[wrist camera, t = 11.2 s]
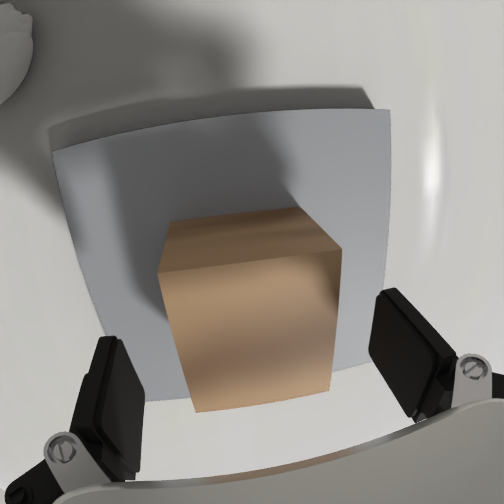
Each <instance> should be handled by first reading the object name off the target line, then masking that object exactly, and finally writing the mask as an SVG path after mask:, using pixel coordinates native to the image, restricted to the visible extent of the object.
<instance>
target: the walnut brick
mask: <svg viewBox="0 0 504 504" xmlns="http://www.w3.org/2000/svg"><path fill="white" fill-rule="evenodd" d="M341 265H342V248H341V247H340V246H339V245H338V244H337V243H336V242H335V241H334V240H333V239H332V238H331V237H330V236H329V235H328V234H327V233H326V232H325V231H324V230H323V229H322V228H321V227H320V226H319V225H318V224H317V223H316V222H315V221H314V220H313V219H312V218H311V217H310V216H309V215H308V214H307V213H306V212H305V211H304V210H303V209H302V208H301V207H290V208H280V209H271V210H262V211H253V212H244V213H236V214H227V215H219V216H211V217H203V218H195V219H188V220H180V221H173V222H170V225H169V229H168V232H167V236H166V240H165V244H164V248H163V252H162V256H161V260H160V264H159V268H158V272H157V274H158V279H159V283H160V287H161V292H162V296H163V300H164V304H165V308H166V312H167V316H168V320H169V324H170V327H171V331H172V335H173V339H174V342H175V346H176V349H177V353H178V356H179V360H180V363H181V367H182V370H183V373H184V377H185V380H186V383H187V386H188V390H189V393H190V396H191V399H192V402H193V405H194V408H195V411H196V413H198V412H208V411H217V410H225V409H233V408H240V407H247V406H254V405H260V404H266V403H272V402H277V401H283V400H288V399H293V398H298V397H303V396H308V395H312V394H317V393H321V392H325V391H329V388H330V381H331V373H332V365H333V357H334V348H335V339H336V329H337V319H338V307H339V295H340V281H341Z"/></svg>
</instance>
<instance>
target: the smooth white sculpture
mask: <svg viewBox="0 0 504 504" xmlns="http://www.w3.org/2000/svg"><path fill="white" fill-rule="evenodd" d="M32 24H33V18H32V16H31V15H29V14H23V15H22V13H21V12H20V11H17V10H16V9H14V6H13V5H12V4H11V3H5V4H1V5H0V104H2V103H3V102H4V101H6V100H7V99H8V98H9V97H10V96H11V95H12V94H13V93H14V92H15V91H16V89H17V88H18V87H19V85H20V84H21V82H22V81H23V79H24V77H25V76H26V74H27V71H28V69H29V66H30V63H31V59H32V54H33V41H32V37H31V32H32Z"/></svg>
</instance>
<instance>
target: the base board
mask: <svg viewBox="0 0 504 504" xmlns="http://www.w3.org/2000/svg"><path fill="white" fill-rule="evenodd" d="M52 155H53V161H54V166H55V171H56V176H57V181H58V185H59V190H60V194H61V198H62V203H63V207H64V211H65V215H66V218H67V222H68V226H69V229H70V233H71V237H72V240H73V243H74V247H75V250H76V253H77V257H78V260H79V263H80V266H81V269H82V272H83V275H84V278H85V281H86V284H87V287H88V289H89V292H90V295H91V298H92V300H93V303H94V306H95V308H96V311H97V314H98V316H99V319H100V321H101V324H102V326H103V328H104V331H105V333H106V336H113V335H114V336H116V337H117V339H121V340H122V341H123V343H124V346H125V348H126V350H127V353H128V355H129V357H130V360H131V362H132V364H133V366H134V369H135V371H136V373H137V375H138V377H139V380H140V382H141V384H142V386H143V388H144V391H145V402H147V401H160V400H172V399H182V398H191V396H190V393H189V390H188V386H187V383H186V380H185V377H184V373H183V370H182V367H181V363H180V360H179V356H178V353H177V349H176V346H175V342H174V339H173V335H172V331H171V327H170V324H169V320H168V316H167V312H166V308H165V304H164V300H163V296H162V292H161V287H160V283H159V279H158V274H157V272H158V268H159V264H160V260H161V256H162V252H163V248H164V244H165V240H166V236H167V232H168V229H169V225H170V222H173V221H180V220H188V219H195V218H203V217H211V216H219V215H227V214H236V213H244V212H253V211H262V210H271V209H280V208H290V207H301V208H302V209H303V210H304V211H305V212H306V213H307V214H308V215H309V216H310V217H311V218H312V219H313V220H314V221H315V222H316V223H317V224H318V225H319V226H320V227H321V228H322V229H323V230H324V231H325V232H326V233H327V234H328V235H329V236H330V237H331V238H332V239H333V240H334V241H335V242H336V243H337V244H338V245H339V246H340V247H341V248H342V265H341V281H340V295H339V307H338V319H337V329H336V339H335V348H334V357H333V365H332V372H336V371H340V370H344V369H347V368H351V367H355V366H359V365H362V364H366V363H369V362H372V359H371V357H370V355H369V352H368V346H369V340H370V334H371V328H372V322H373V315H374V308H375V301H376V297H377V296H378V295H379V293H380V291H382V290H383V285H384V277H385V268H386V257H387V246H388V233H389V217H390V196H391V122H390V110H386V109H303V110H283V111H269V112H257V113H246V114H236V115H227V116H219V117H211V118H203V119H196V120H190V121H183V122H177V123H171V124H165V125H160V126H154V127H149V128H144V129H139V130H134V131H129V132H125V133H120V134H116V135H112V136H107V137H103V138H99V139H95V140H91V141H87V142H83V143H80V144H76V145H72V146H69V147H65V148H62V149H59V150H56V151H52Z"/></svg>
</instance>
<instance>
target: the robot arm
mask: <svg viewBox="0 0 504 504" xmlns="http://www.w3.org/2000/svg"><path fill="white" fill-rule="evenodd" d="M368 352H369V355H370V357H371V359H372V360H373V362H374V364H375V365H376V367H377V368H378V370H379V372H380V373H381V375H382V376H383V378H384V380H385V381H386V383H387V384H388V386H389V388H390V389H391V391H392V392H393V394H394V396H395V397H396V399H397V401H398V402H399V404H400V406H401V407H402V409H403V410H404V412H405V414H406V415H407V417H409V418H410V417H412V419H413V421H414V422H415V423H416V424H414V425H411V426H409V427H406V428H404V429H401V430H399V431H396V432H393V433H391V434H388V435H386V436H383V437H380V438H377V439H374V440H372V441H369V442H366V443H363V444H360V445H357V446H353V447H350V448H347V449H344V450H340V451H337V452H334V453H330V454H327V455H323V456H319V457H315V458H312V459H308V460H303V461H299V462H295V463H291V464H286V465H281V466H276V467H271V468H266V469H261V470H255V471H249V472H243V473H236V474H229V475H221V476H213V477H203V478H192V479H178V480H162V481H133V482H125V480H135V476H136V472H139V471H140V460H141V443H142V428H143V416H144V404H145V391H144V388H143V386H142V384H141V382H140V380H139V377H138V375H137V373H136V371H135V369H134V366H133V364H132V362H131V360H130V357H129V355H128V353H127V350H126V348H125V346H124V343H123V341H122V340H121V339H117V337H116V336H114V335H113V336H103V337H100V338H99V340H98V343H97V346H96V349H95V353H94V356H93V359H92V362H91V366H90V369H89V372H88V373H87V374H86V375H85V376H84V378H83V381H82V385H81V388H80V392H79V395H78V399H77V402H76V406H75V410H74V414H73V418H72V422H71V426H70V430H69V432H59V433H57V434H54V435H53V436H52V437H50V438H49V439H48V441H47V442H46V444H45V446H44V457H45V459H44V460H43V461H41V462H40V463H39V464H37V465H36V466H34V467H33V468H32V469H30V470H29V471H27V472H26V473H25V474H23V475H22V476H20V477H19V478H17V479H16V480H15V481H13V482H12V483H11V484H10V485H9V486H8V487H7V489H6V492H5V502H6V504H504V375H502V374H497V373H493V372H492V369H491V366H490V364H489V362H488V361H487V360H486V359H485V358H483V357H482V356H480V355H477V354H465V355H463V356H461V357H460V358H458V357H457V356H456V352H455V351H454V350H453V349H452V348H451V347H450V345H449V344H448V343H447V342H446V341H445V340H444V339H443V338H442V337H441V335H440V334H439V333H438V332H437V331H436V330H435V329H434V328H433V327H432V325H431V324H430V323H429V322H428V321H427V320H426V319H425V318H424V317H423V316H422V315H421V314H420V313H419V311H418V310H417V309H416V308H415V307H414V306H413V305H412V304H411V303H410V302H409V301H408V300H407V299H406V298H405V297H404V296H403V295H402V294H401V293H400V292H399V290H398V289H396V288H390V289H386V290H382V291H380V293H379V295H378V296H377V297H376V301H375V308H374V315H373V322H372V328H371V334H370V340H369V346H368ZM426 418H427V419H426ZM424 419H426V420H424ZM422 420H423V421H422ZM420 421H421V422H420ZM417 422H419V423H417Z"/></svg>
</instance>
